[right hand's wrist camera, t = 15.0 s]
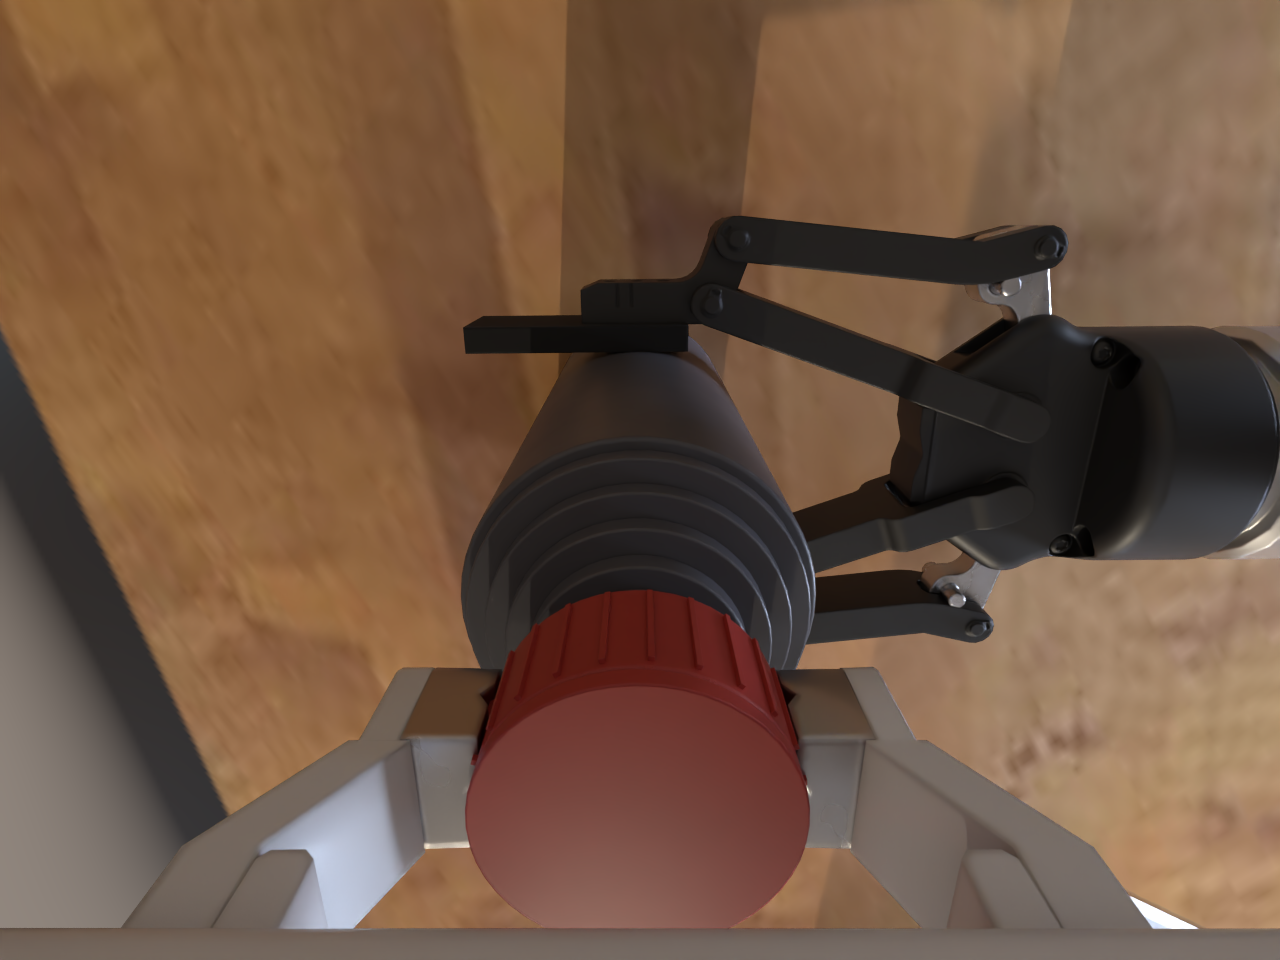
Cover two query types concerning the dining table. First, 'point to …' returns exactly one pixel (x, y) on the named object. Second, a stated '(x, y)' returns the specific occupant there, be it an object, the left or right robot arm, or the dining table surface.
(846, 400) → the dining table surface
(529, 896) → the cap
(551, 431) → the bottle
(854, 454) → the dining table surface
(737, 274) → the left robot arm
